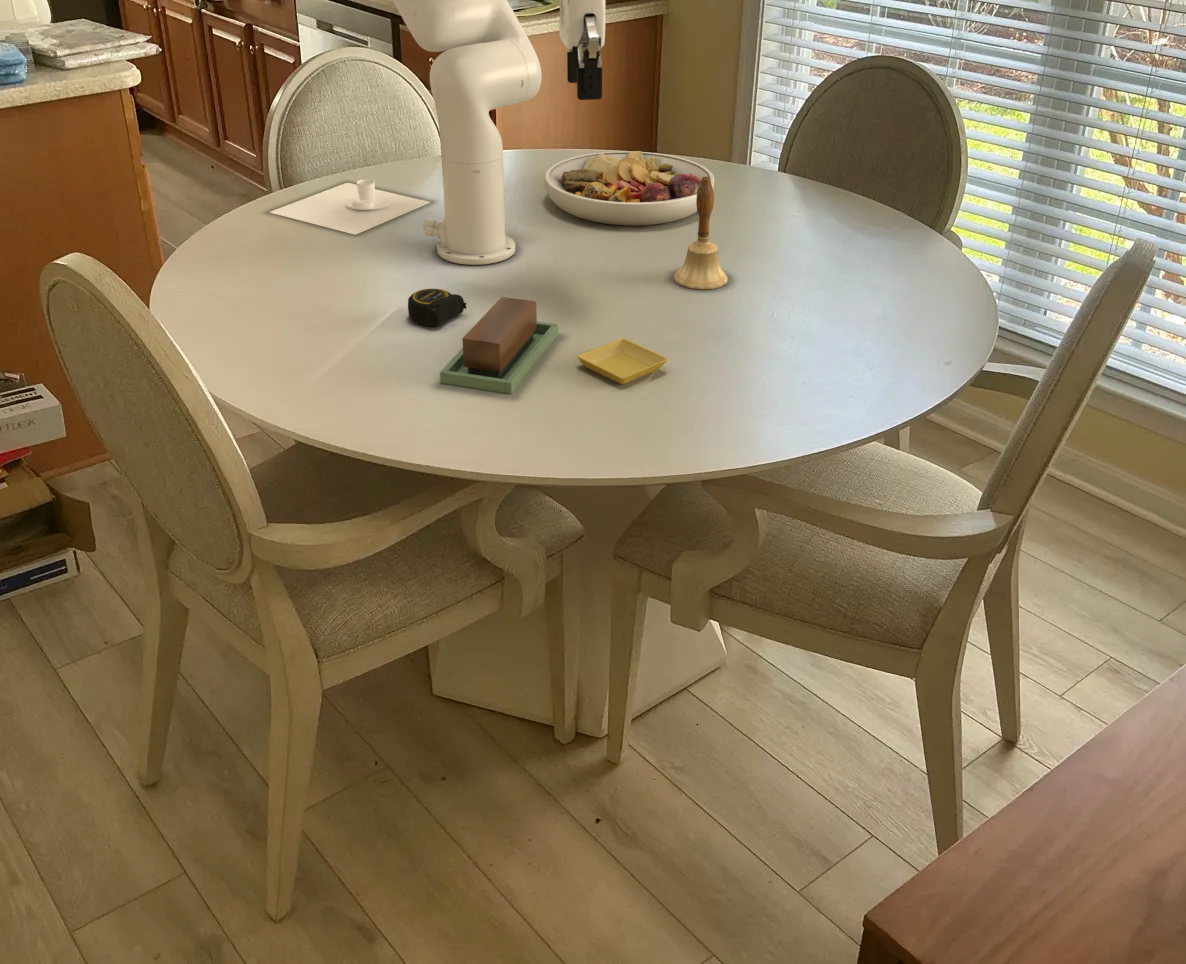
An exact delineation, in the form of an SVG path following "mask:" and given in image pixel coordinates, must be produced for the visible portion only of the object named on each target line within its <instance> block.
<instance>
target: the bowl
mask: <svg viewBox="0 0 1186 964" xmlns="http://www.w3.org/2000/svg"><path fill="white" fill-rule="evenodd" d="M702 177H710V178H711V184H712V187H713V189H714V188H715V176H714V174H713V173H712V172H711V171H710V170H709V169H708V168H707V167H705V166H704V165H702V164H701V163H700V164H699V163H697V162H695V161H692V160H689V159H687V158H682V157H678V156H675V155H670V154H664V153H657V152H647V151H646V152H645V151H641V150H631V151H621V150H620V151H603V152H602V151H601V152H594V153H587V154H581V155H577V156H573V157H569V158H565V159H563V160H561V161H558V162H555V164H553V165H551V166H550V167H549V168H548V169H547V170H546V172H545V175H544V182H545V189H546V192H547V194H548V196H549V198H550V200H551V201H552V202H553V203H554V204H555V205H556V206H557V207H558V208H559V209H561V210H563V211H564V212H566V213H568V214H569V215H572V216H574V217H576V218H579V219H582V220H585V221H590V222H595V223H600V224H605V225H614V226H652V225H659V224H666V223H670V222H675V221H678V220H682V219H685V218H687V217H690V216H692V215H693V214H695V213H698V211H697V205H696V199H697V191H698V188H699V186H700V183H701V180H702Z"/></svg>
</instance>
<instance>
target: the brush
mask: <svg viewBox="0 0 1186 964" xmlns="http://www.w3.org/2000/svg"><path fill="white" fill-rule="evenodd" d="M537 313H538V311H537V300H528V299H522V298H513V297H507V296H501V297H500V298H499V299H498V300H497V301H496V302H495V303H494V304H493V306H492V307H490V308H489V309H488V310H487V312H486V313H485V314H484V315H483V316H482V317H481V318H480V319H479V320H478V321H477V322H476V323H475V325H474V326H473V327H471V328H470V329H469V331H468V332H467V333H466V334H465V335H464V336H463V337H462V340H461V341H462V348H463V360H464V367H468V374H473V375H479V376H486V377H493V378H499V379H501V378H502V377H503V376H504V374H505V373H506V372H507V371H508V370H509V368H510V367H511V366H512V365H513V363H514V362H515V361H516V360H517V359H518V357H519V356H520V355H521V354H522V352H523V351H524V350H525V349H526V348H527V346H528V345H529V344H530V343H531V341H532V340H533V332H534V331H535V330H536V329H537V321H538V319H537V317H538V315H537Z"/></svg>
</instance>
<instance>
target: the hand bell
mask: <svg viewBox="0 0 1186 964" xmlns="http://www.w3.org/2000/svg"><path fill="white" fill-rule="evenodd" d="M714 203H715V192H714V188H713V187H712V184H711V178H710V177H702V180H701V183H700V186H699V188H698V191H697V199H696V205H697V215H698V227H697V228H698V229H697V240H696V241H693V242H691V243H689V245H688V247H687V252H686V256H685V259H684V262H683V264H682V265H681V267H680V268H679V269H677V270H676V271H675V273H674V275H673V280H674V282H675V283H676V284H677V285H679V286H682V287H684V288H687V289H691V290H698V291H702V290H703V291H704V290H706V291H707V290H716V289H719V288H722V287H723V286H725V285H726V284H728V280H729V279H728V276H727V274H726V272H725V271H723V269H722V267H721V265H720V261H719V254H718V253H719V251H718V246H717V245H716V244H715V243H714V242H711V241H710V219H711V215H712V211H713V208H714Z"/></svg>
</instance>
